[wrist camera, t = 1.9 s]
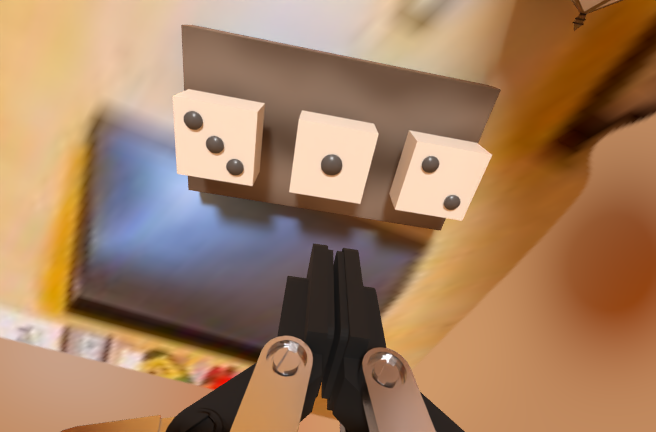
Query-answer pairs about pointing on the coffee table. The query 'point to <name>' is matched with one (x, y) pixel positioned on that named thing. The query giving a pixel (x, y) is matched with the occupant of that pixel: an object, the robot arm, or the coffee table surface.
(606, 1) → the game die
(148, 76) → the coffee table surface
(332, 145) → the single pip block
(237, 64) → the brown board
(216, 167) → the three dot tile
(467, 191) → the two pip cube
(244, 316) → the coffee table surface
